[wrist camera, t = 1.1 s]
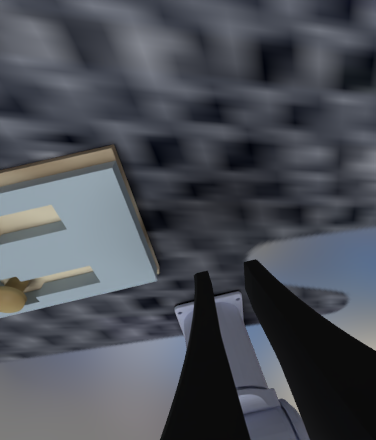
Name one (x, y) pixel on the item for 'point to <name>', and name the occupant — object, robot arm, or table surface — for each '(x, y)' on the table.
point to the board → (49, 216)
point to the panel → (76, 236)
